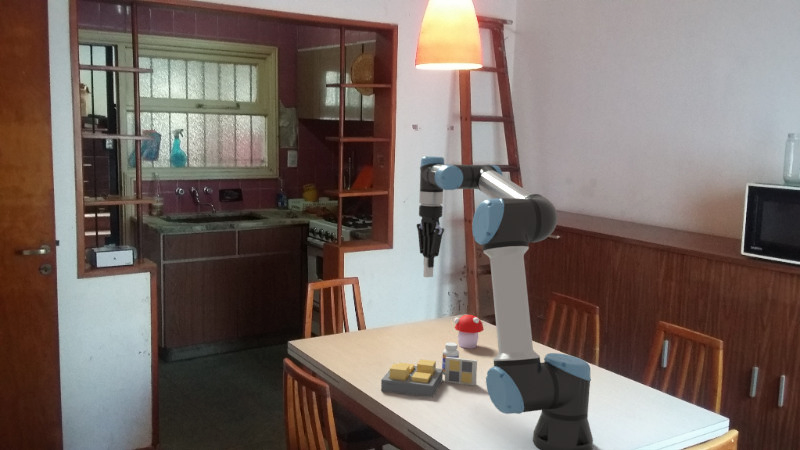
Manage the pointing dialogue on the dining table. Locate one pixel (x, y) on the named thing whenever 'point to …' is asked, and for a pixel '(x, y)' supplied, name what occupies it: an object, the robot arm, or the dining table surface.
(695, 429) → the dining table surface
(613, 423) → the dining table surface
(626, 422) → the dining table surface
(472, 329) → the mushroom
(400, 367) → the button
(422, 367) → the button
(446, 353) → the pill bottle
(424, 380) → the button
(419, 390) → the board
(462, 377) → the plaque
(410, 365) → the button
